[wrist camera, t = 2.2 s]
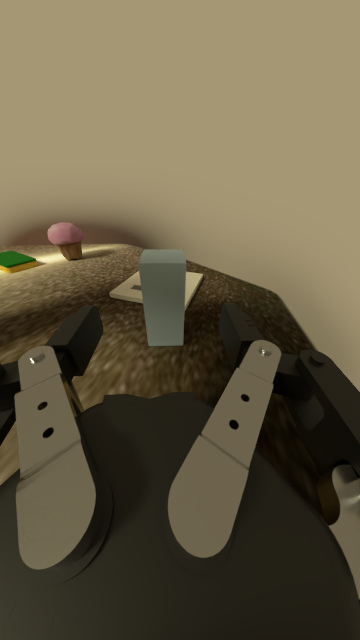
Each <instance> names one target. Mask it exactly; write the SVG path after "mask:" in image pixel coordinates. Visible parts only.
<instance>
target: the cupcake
mask: <svg viewBox="0 0 360 640" xmlns="http://www.w3.org/2000/svg"><path fill="white" fill-rule="evenodd" d="M48 238H49V240H50V241H51V242H52V243H53V244H55V245H56V246H57V247H58V248H59V250H60V251H61V253H62V254H63V256H64V257H65V258H66V259H67V260H71V259H80V258H81V256H82V250H81V241H82V240H83V238H84V236H83V233H82V231H81V230H80V229H79V228H78V227H76V226H74V224H72V223H65V222H61V223H58V224H55V225H52V226H51V228H50V229H49V230H48Z"/></svg>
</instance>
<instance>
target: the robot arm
mask: <svg viewBox="0 0 360 640" xmlns="http://www.w3.org/2000/svg"><path fill="white" fill-rule="evenodd" d="M219 332H220V335H221V338H222V341H223V344H224V347H225V349H226V352H227V355H228V358H229V361H230V364H231V367H232V370H233V371H235V372H234V374H233V376H232V377H231V379H230V381H229V383H228V385H227V387H226V389H225V390H224V392H223V394H222V396H221V398H220V400H219V401H218V403H217V405H216V407H215V406H213V405H211V404H210V403H208V402H206V401H203V400H200V399H196V393H195V392H173V393H170V394H166V395H163V396H159V397H155V398H152V399H147V398H143V397H138V396H134V395H129V394H117V395H105V396H104V399H103V402H102V403H99V404H97V405H94V406H92V407H90V408H88V409H87V410H85V411H84V409H83V407H82V405H81V402H80V399H79V397H78V394H77V392H76V389H75V387H74V384H73V382H72V379H73V377H74V376H83V374H84V372H85V370H86V368H87V366H88V364H89V362H90V359H91V357H92V355H93V353H94V351H95V349H96V347H97V345H98V343H99V341H100V338H101V336H102V334H103V325H102V321H101V318H100V315H99V312H98V309H97V307H96V306H81V307H80V309H79V310H78V311H77V313H76V314H73V315H71V316H70V317H68V318H67V319H66V320H65V321H64V322H63V323H62V325H61V326H60V327H59V328H58V330H57V331H56V332H55V333H54V334H53V336H52V337H51V338H50V339H49V341H48V342H47V343H46V344H45V345H44V346H40V347H37V348H34V349H31V350H30V351H28V352H26V353H25V354H24V355H23V356H22V357H21V358H20V359H19V361H16V362H12V363H7V364H3V365H1V364H0V446H1V444H2V442H3V441H4V439H5V437H6V436H7V434H8V433H9V431H10V429H11V428H12V426H13V424H14V423H15V421H16V423H17V436H18V448H19V460H20V468H19V469H18V470H17V471H16V472H15V473H14V474H13V475H12V476H11V477H9V478H8V479H7V480H6V481H5V482H4V483H3V484H2V485H1V486H0V640H360V603H359V599H360V392H359V391H358V390H357V389H356V387H355V386H354V385H353V384H352V383H351V382H350V381H349V379H348V378H347V377H346V376H345V375H344V374H343V373H342V371H341V370H340V369H339V368H338V367H337V366H336V365H335V363H334V362H333V361H332V360H331V359H330V358H329V357H328V356H326V355H324V354H323V353H321V352H318V351H315V350H309V349H307V350H303V351H301V352H300V354H299V356H296V355H291V354H286V353H282V352H281V351H280V349H279V348H278V347H277V346H276V345H274V344H273V343H271V342H268V341H265V340H264V338H263V336H262V335H261V333H260V332H259V330H258V328H257V327H256V326H255V324H254V322H252V319H251V317H250V316H249V315H248V314H247V313H246V312H244V311H239V309H238V307H237V306H236V304H235V303H223V304H222V307H221V313H220V319H219ZM271 393H276V394H280V395H282V397H283V399H284V401H285V403H286V405H287V407H288V409H289V411H290V413H291V415H292V417H293V420H294V422H295V424H296V426H297V428H298V430H299V432H300V434H301V436H302V438H303V440H304V443H305V445H306V447H307V449H308V451H309V453H310V455H311V457H312V459H313V461H314V463H315V465H316V468H317V470H318V472H319V474H320V476H321V477H320V478H319V479H318V482H317V492H318V496H319V499H320V504H321V507H322V511H323V516H321V515H320V514H319V513H318V511H317V510H316V509H315V508H314V507H313V506H312V505H311V504H310V503H309V502H308V501H307V500H306V499H305V498H304V497H303V496H302V495H301V493H300V492H299V491H298V490H297V489H296V488H295V487H294V486H293V485H292V484H291V483H290V482H289V481H288V480H287V479H286V478H285V477H284V476H283V475H282V474H281V473H280V472H279V471H278V470H277V469H276V468H275V467H274V466H273V465H272V464H271V463H270V462H269V461H268V459H267V458H266V457H265V456H264V455H263V454H262V453H261V452H260V451H259V450H258V449H257V448H256V447H255V445H256V442H257V439H258V436H259V432H260V429H261V426H262V422H263V419H264V416H265V412H266V409H267V406H268V403H269V399H270V396H271ZM315 396H316V397H317V398H316V397H315ZM317 399H318V400H317ZM319 402H320V403H319ZM321 405H322V406H321Z"/></svg>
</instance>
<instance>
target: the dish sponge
mask: <svg viewBox="0 0 360 640" xmlns="http://www.w3.org/2000/svg"><path fill="white" fill-rule="evenodd" d="M36 266H38V263H37V261H36V259H35V258H32V257H29V256H26V255H23V254H20V253H17V252H14V251H8V252H3V253H0V270H3V271H5V272H7V273H14V272H18V271H21V270H25V269H29V268H32V267H36Z"/></svg>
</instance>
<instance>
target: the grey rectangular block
mask: <svg viewBox="0 0 360 640" xmlns="http://www.w3.org/2000/svg"><path fill="white" fill-rule="evenodd" d="M138 266H139V274H140V282H141V290H142V298H143V306H144V314H145V322H146V330H147V338H148V346H178V345H183V337H184V311H185V285H186V259H185V255H184V250H144V251H143V253H142V255H141V258H140V260H139V262H138Z"/></svg>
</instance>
